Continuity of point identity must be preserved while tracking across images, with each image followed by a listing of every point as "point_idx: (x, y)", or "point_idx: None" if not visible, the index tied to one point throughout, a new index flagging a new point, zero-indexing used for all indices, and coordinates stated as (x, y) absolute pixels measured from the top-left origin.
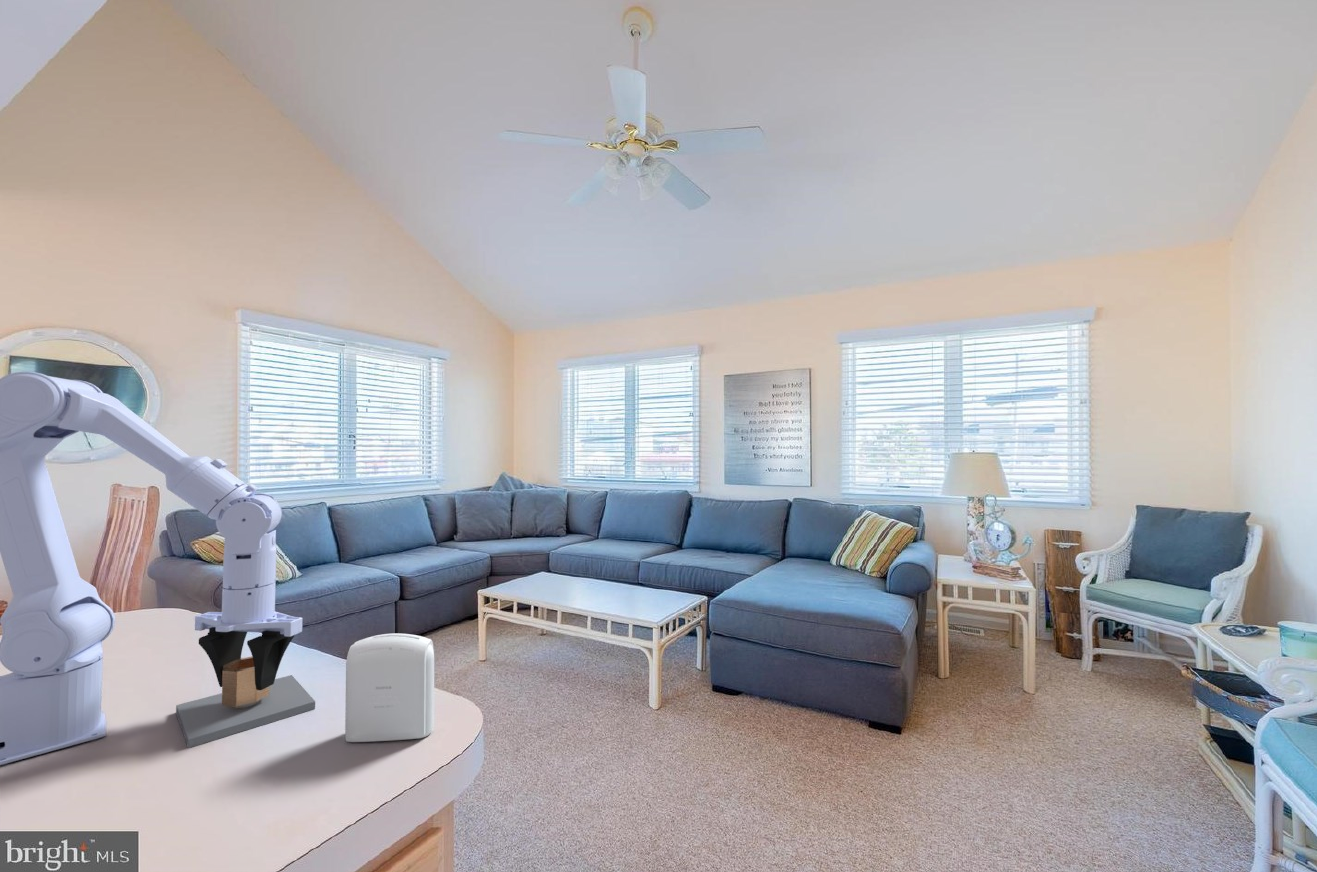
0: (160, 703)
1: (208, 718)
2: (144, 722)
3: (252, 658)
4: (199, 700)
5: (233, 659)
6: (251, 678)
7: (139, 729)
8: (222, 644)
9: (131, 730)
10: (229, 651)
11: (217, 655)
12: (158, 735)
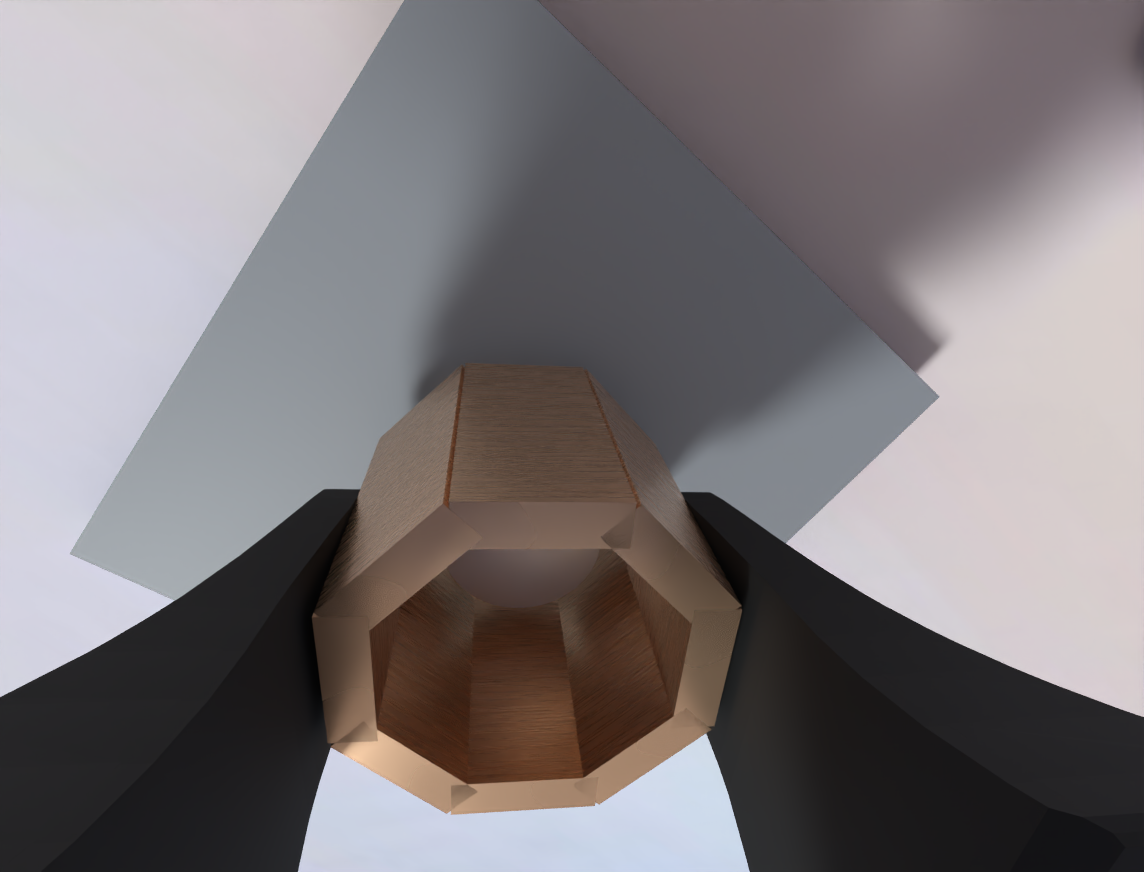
0: (1063, 457)
1: (589, 258)
2: (1013, 258)
3: (594, 763)
4: (841, 463)
5: (733, 708)
6: (364, 522)
7: (987, 174)
8: (884, 828)
9: (1027, 157)
10: (786, 767)
11: (836, 659)
12: (815, 110)
